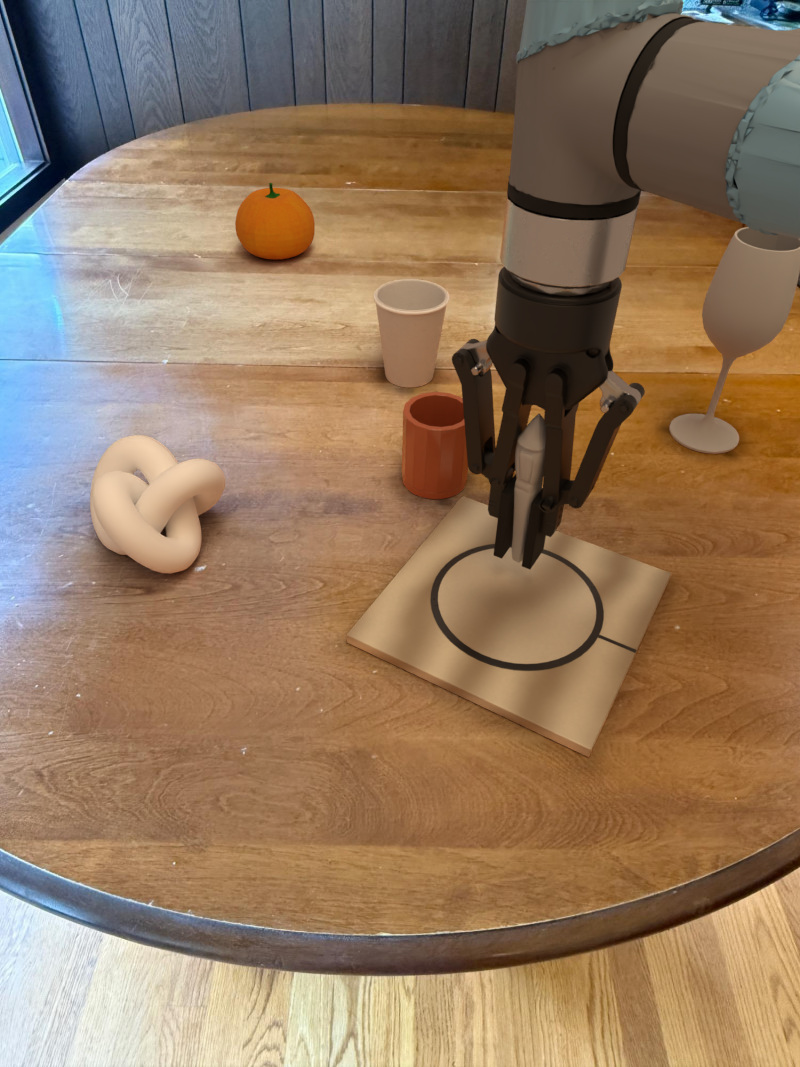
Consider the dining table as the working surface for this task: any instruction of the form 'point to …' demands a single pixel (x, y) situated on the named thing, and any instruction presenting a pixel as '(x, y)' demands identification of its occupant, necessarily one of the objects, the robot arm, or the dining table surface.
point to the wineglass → (741, 320)
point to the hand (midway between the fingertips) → (518, 552)
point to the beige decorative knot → (152, 502)
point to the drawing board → (516, 624)
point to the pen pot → (434, 445)
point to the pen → (527, 479)
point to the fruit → (274, 223)
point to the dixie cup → (410, 329)
